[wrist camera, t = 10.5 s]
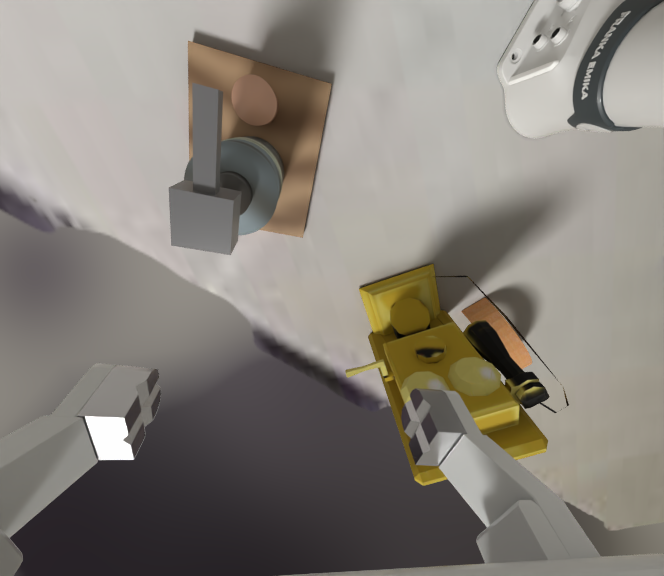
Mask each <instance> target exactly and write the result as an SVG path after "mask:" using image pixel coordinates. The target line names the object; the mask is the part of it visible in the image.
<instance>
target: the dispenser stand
mask: <svg viewBox="0 0 664 576" xmlns="http://www.w3.org/2000/svg"><path fill="white" fill-rule="evenodd" d="M249 74H251V75H257V76H259V77H261V78H263V79H264V80H265V81H266V82H267V83H268V84H269V85H270V87H271V88H272V89H273V91H274V92H275V94H276V96H277V99H278V106H279V107H278V113H277V116H276V118H275V119H274V120H273V121H272V122H271V123H270V124H268V125H263V126H254V125H250V124H248V123H246V122H244V121H243V120H242V119H241V118H240V117H239V116H238V115H237V113H236V112H235V110H234V107H233V104H232V89H233V86H234V84H235V83H236V81H237V80H238V79H239V78H240V77H242V76H244V75H249ZM192 83H196V84H199V85H203V86H207V87H210V88H214V89H218V90H220V91H222V92H223V110H222V136H221V163H220V187H222V188H227V189H232V190H237V191H241V205H240V218H239V232H238V235H246V234H250V233H253V232H256V231H258V230H264V231H269V232H275V233H280V234H286V235H291V236H297V237H302V238H303V233H304V228H305V223H306V217H307V212H308V207H309V201H310V196H311V191H312V186H313V180H314V175H315V170H316V164H317V159H318V154H319V148H320V143H321V138H322V133H323V127H324V122H325V117H326V111H327V106H328V101H329V95H330V90H331V85H332V84H330V83H327V82H324V81H320V80H317V79H314V78H310V77H307V76H304V75H300V74H297V73H294V72H290V71H287V70H284V69H280V68H277V67H274V66H270V65H267V64H264V63H260V62H257V61H254V60H250V59H247V58H244V57H241V56H237V55H234V54H231V53H227V52H224V51H221V50H217V49H214V48H211V47H207V46H204V45H201V44H197V43H194V42H191V41H188V84H189V163H188V165H187V168H186V171H185V176H184V180H188V181H193V100H192Z"/></svg>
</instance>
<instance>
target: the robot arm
mask: <svg viewBox="0 0 664 576" xmlns="http://www.w3.org/2000/svg"><path fill="white" fill-rule="evenodd" d="M513 54H514V59H513V60H512V55H513ZM497 73H498V77H499V79H500V81H501V84H502V86H503V88H504V92H505V108H506V113H507V117H508V120H509V122H510V124H511V125H512V127H513V128H514V129H515V130H516V131H517V132H518V133H519V134H521V135H523V136H525V137H529V138H543V137H547V136H550V135H553V134H556V133H559V132H563V131H569V130H576V129H579V130H581V131H588V132H612V131H631V130H636V129H640V128H642V127H664V0H534V2H533V4H532V6H531V7H530V9H529V11H528V13H527V14H526V16H525V18H524V20H523V21H522V23H521V25H520V27H519V28H518V30H517V32H516V34H515V35H514V37H513V39H512V41H511V42H510V44H509V46H508V48H507V49H506V51H505V53H504V55H503V56H502V58H501V60H500V62H499V64H498V67H497ZM158 379H159V373H158V370H157V369H153V368H142V367H133V366H123V365H110V364H100V363H97V364H95V365H94V366H92V367H91V368H90V369H89V370H88V371H87V372H86V374H85V375H84V376H83V377H82V379H81V380H80V381H79V382H78V383H77V384H76V386H75V387H74V388H73V389H72V390H71V391H70V393H69V394H68V395H67V396H66V397H65V399H64V400H63V401H62V402H61V403H60V405H59V406H58V407H57V408H56V409H55V410H54V412H53V413H52V414H51V415H50V416H42V417H40V418H38V419H36V420H34V421H33V422H31V423H29V424H27V425H25V426H24V427H22V428H20V429H18V430H16V431H14V432H13V433H11V434H9V435H7V436H6V437H4V438H2V439H0V576H13V575H14V574H15V572H16V571H17V569H18V567H19V566H20V564H21V562H22V561H23V557H22V553H21V551H20V550H19V549H18V548H17V547H16V546H15V544H14V543H13V542H12V541H11V540H10V539H9V538H10V537H11V536H12V535H13V534H14V533H16V532H17V531H18V530H19V529H20V528H21V527H23V526H24V525H25V524H26V523H27V522H28V521H30V520H31V519H32V518H33V517H34V516H35V515H37V514H38V513H39V512H40V511H41V510H42V509H44V508H45V507H46V506H47V505H48V504H49V503H50V502H52V501H53V500H54V499H55V498H56V497H57V496H59V495H60V494H61V493H62V492H63V491H64V490H65V489H67V488H68V487H69V486H70V485H71V484H73V483H74V482H75V481H76V480H77V479H78V478H79V477H81V476H82V475H83V474H84V473H85V472H86V471H88V470H89V469H90V468H91V467H92V466H94V465H95V464H96V463H97V460H130V459H131V460H134V458H135V456H136V454H137V452H138V450H139V448H140V446H141V444H142V442H143V440H144V438H145V436H146V435H145V429H144V427H145V426H146V425H148V424H149V423H150V422H152V421H153V419H154V417H155V415H156V412H157V410H158V407H159V404H160V399H161V388H160V387H159V386H158V385H157V384H156V382H157V381H158ZM410 398H411V400H410V401H408V402H407V403H405V404H404V407H403V409H402V414H401V420H402V426H403V429H404V432H405V433H406V434H407V435H408V436H409V437H410V438H411V439H410V442H409V447H410V450H411V453H412V456H413V459H414V462H415V465H426V466H439V469H440V470H441V471H442V472H443V473H444V475H445V476H446V477H447V478H448V480H449V481H450V482H451V483H452V484H453V485H454V487H455V488H456V489H457V491H458V492H459V493H460V494H461V495H462V497H463V498H464V499H465V501H466V502H467V503H468V504H469V505H470V507H471V508H472V509H473V510H474V512H475V513H476V514H477V515H478V517H479V518H480V519H481V520H482V522H483V523H484V524H485V525H486V526H487V528H486V529H485V530H484V531H483V532H482V533H481V534H480V535H478V537H477V540H476V542H477V544H478V546H479V549H480V552H481V554H482V556H483V559H484V561H485V564H471V565H455V566H439V567H438V566H437V567H421V568H405V569H387V570H369V571H352V572H337V573H318V574H301V575H284V576H664V553H660V554H659V553H658V554H642V555H625V556H609V557H608V556H607V557H601V556H600V555H599V553H598V552H597V550H596V549H595V547H594V546H593V544H592V543H591V542H590V540H589V539H588V537H587V535H586V534H585V533H584V531H583V530H582V528H581V527H580V525H579V524H578V522H577V521H576V520H575V518H574V516H573V515H572V513H571V512H570V511H569V509H568V508H567V506H566V505H565V503H564V502H563V500H562V499H561V498H560V497H559V496H558V495H556V494H555V493H554V492H553V491H552V490H551V489H549V488H548V487H547V486H546V485H545V484H543V483H542V482H541V481H540V480H539V479H538V478H536V477H535V476H534V475H533V474H532V473H530V472H529V471H528V470H527V469H526V468H525V467H523V466H522V465H521V464H520V463H519V462H517V461H516V460H515V459H514V458H513V457H512V456H510V455H509V454H508V453H507V452H506V451H504V450H503V449H502V448H501V447H500V446H499V445H497V444H496V443H495V442H494V441H493V440H491V439H490V438H489V437H488V436H487V435H482V433H481V432H480V430H479V428H478V426H477V425H476V423H475V421H474V419H473V418H472V416H471V414H470V413H469V411H468V409H467V407H466V406H465V404H464V402H463V400H462V399H461V397H460V395H459V394H458V393H457V392H456V391H447V390H436V389H420V388H415V389H413V390H412V392H411V393H410Z"/></svg>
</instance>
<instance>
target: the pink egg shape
mask: <svg viewBox="0 0 664 576" xmlns="http://www.w3.org/2000/svg"><path fill="white" fill-rule="evenodd" d="M232 104H233V107H234V110H235V112H236V113H237V115H238V116H239V117H240V118H241V119H242V120H243V121H244V122H246V123H248V124H250V125H254V126H263V125H268V124H270V123H271V122H272V121H273V120H274V119H275V118H276V116H277V113H278V107H279V106H278V99H277V96H276V94H275V92H274V91H273V89H272V88H271V87H270V85H269V84H268V83H267V82H266V81H265V80H264V79H263V78H261V77H259V76H257V75H251V74H249V75H244V76H242V77H240V78H239V79H238V80H237V81H236V83H235V84H234V86H233V89H232Z"/></svg>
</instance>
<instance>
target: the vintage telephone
mask: <svg viewBox="0 0 664 576" xmlns="http://www.w3.org/2000/svg"><path fill="white" fill-rule="evenodd" d="M436 277H468V276H435V271H434V264H431V265H428V266H425V267H422V268H419V269H416V270H413V271H410V272H407V273H404V274H401V275H398V276H395V277H392V278H389V279H386V280H383V281H380V282H377V283H374V284H371V285H368V286H365V287H362V288H359V291H360V294H361V297H362V300H363V303H364V306H365V309H366V312H367V315H368V318H369V321H370V324H371V327H372V330H373V333H371V334H370V335H369V336H368V338H369V341H370V344H371V347H372V350H373V353H374V356H375V359H376V362H373V363H371V364H368V365H365V366H362V367H357V368H353V369H348V370H346V375H347V378H348V377H350V376H353V375H355V374H358V373H360V372H363V371H366V370H370V369H374V368H378V369H379V372H380V375H381V378H382V381H383V384H384V387H385V390H386V393H387V396H388V399H389V402H390V405H391V408H392V411H393V414H394V417H395V420H396V423H397V426H398V429H399V432H400V436H401V438H402V442H403V445H404V448H405V451H406V454H407V457H408V459H409V463H410V465H411V469H412V472H413V475H414V478H415V480H416V481H417V482H419V483H420V484H422V485H423V486H424V485H428V484H432V483H435V482H439V481H442V480H446V479H448V478H447V477H446V476H445V475H444V473H443V472H442V471H441V470H440V469H439V466H426V465H415V462H414V459H413V456H412V453H411V450H410V447H409V442H410V439H411V438H410V437H409V436H408V435H407V434H406V433H405V432H404V429H403V426H402V420H401V414H402V409H403V407H404V404H405V403H407V402H408V401H410V400H411V398H410V393H411V392H412V390H413V389H415V388H420V389H436V390H447V391H456V392H457V393H458V394H459V395H460V397H461V399H462V400H463V402H464V404H465V406H466V407H467V409H468V411H469V413H470V414H471V416H472V418H473V419H474V421H475V423H476V425H477V426H478V428H479V430H480V432H481V433H482V435H487V436H488V437H489V438H490V439H491V440H493V441H494V442H495V443H496V444H497V445H499V446H500V447H501V448H502V449H503V450H504V451H506V452H507V453H508V454H509V455H510V456H512V457H513V458H514V459H515V460H518V459H522V458H525V457H529V456H533V455H536V454H540V453H543V452H546V449H547V444H548V440H547V438H546V437H545V436H544V435H543V433H542V432H541V431H540V430H539V428H538V427H537V426H536V424H535V423H534V422H533V421H532V419H531V418H530V417H529V416H528V414H527V413H526V412H525V411H524V409H523V408H522V407H521V405H520V404H522V405H523V407H524V408H525V409H526V408H531V407H533V406H535V405H537V404H539V403H540V404H541V405H543V406H544V407H546V408H548V409H549V410H551V411H552V412H554V413H557V412H555V411H554V410H552V409H550V408H549V407H547V406H546V405H544V404H542V403H541V402H543V401H545V400H547V399H548V398H549V395H548V393H547V391H546V389H545V387H544V386H543V385H542V384H541V383H540V382H539V379H538V378H537V376H536V375H535V374H534V373H533V372H524V371H523V370H522V369H521V368H520V367H519V366H518V364H517V363H516V362H515V361H514V360H513V359H512V358H511V357H510V355H509V353H508V351H507V349H506V348H505V346H504V344H503V342H502V341H501V339H500V337H499V335H498V334H497V332H496V331H495V330H494V329H493V327H492V326H491V325H490V324H489V323H488V322H487V321H486V320H479V321H475V322H473V323H472V324H470V325H468V326H467V328H466V329H465V331H464V332H462V331H461V330H460V328H459V327H458V326H457V325H456V323H455V322H454V321H453V319H452V318H451V317H450V316H449V314H448V313H447V312H446V311H444V310H441V311H440V304H439V298H438V291H437V284H436ZM468 278H469V277H468ZM469 279H470V278H469ZM470 280H471V279H470ZM471 281H472V280H471ZM472 282H473V281H472ZM473 283H474V282H473ZM474 284H475V283H474ZM475 285H476V284H475ZM476 286H477V285H476ZM477 288H478V289H479V290H480V291H481V292H482V293H483V294H484V292H483V291H482V290H481V289H480V288H479V287H478V286H477ZM484 295H485V294H484ZM485 296H486V295H485ZM486 297H487V296H486ZM487 299H488V300H489V301H490V302H491V303H492V304H493V305H494V306H495V307H496V308H497V309H498V311H499V312H500V313H501V314H502V315H503V316H504V317H505V318H506V319H507V321H508V322H509V323H510V324H511V325H512V327H513V328H514V329H515V330H516V331H517V333H518V334H519V335H520V336H521V337H522V339H523V340H524V341H525V342H526V343H527V344H528V342H527V341H526V340H525V339H524V337H523V336H522V335H521V334H520V332H519V331H518V330H517V329H516V327H515V326H514V325H513V324H512V322H511V321H510V320H509V319H508V317H507V316H506V315H505V314H504V313H503V312H502V311H501V310H500V309H499V308H498V307H497V306H496V305H495V304H494V303H493V302H492V301H491V300H490V299H489V298H488V297H487ZM528 346H529V347H530V348H531V349H532V347H531V346H530V345H529V344H528ZM532 350H533V349H532ZM533 352H534V353H535V354H536V352H535V351H534V350H533ZM536 355H537V354H536ZM537 356H538V355H537ZM483 358H484V359H485V360H486V361H485V360H484V359H483ZM538 358H539V359H540V357H539V356H538ZM540 360H541V359H540ZM487 361H488V362H487ZM541 361H542V360H541ZM542 362H543V361H542ZM543 364H544V362H543ZM544 365H545V364H544ZM545 366H546V365H545ZM546 367H547V366H546ZM496 368H497V369H498V370H499V371H500V372H501V373H502V374H503V375H504V377H505V378H506V379H507V380H505V385H504V384H503V383H502V381H501V380H500V379H501V374H500V373H499V372H498V370H497V369H496ZM547 368H548V367H547ZM548 370H549V369H548ZM549 371H550V370H549ZM550 372H551V371H550ZM551 373H552V372H551ZM554 377H555V376H554ZM555 378H556V377H555ZM559 383H560V382H559ZM563 389H564V388H563ZM564 394H565V391H564ZM565 398H566V394H565ZM566 403H567V406H569V404H568V401H567V398H566ZM561 410H562V409H561Z"/></svg>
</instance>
